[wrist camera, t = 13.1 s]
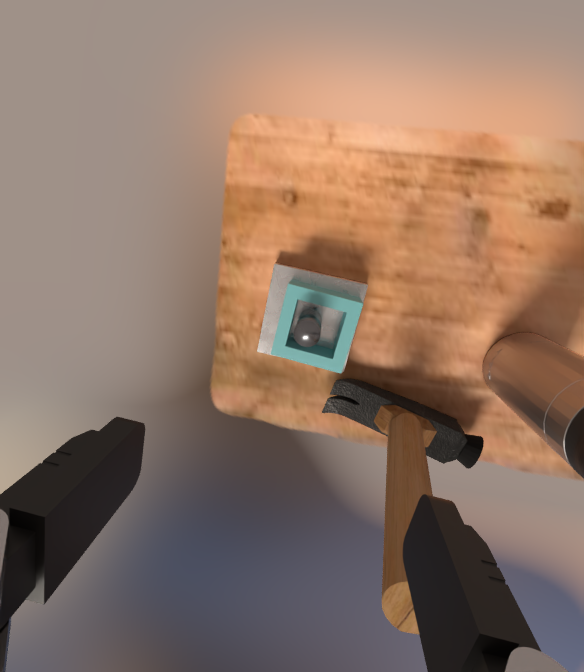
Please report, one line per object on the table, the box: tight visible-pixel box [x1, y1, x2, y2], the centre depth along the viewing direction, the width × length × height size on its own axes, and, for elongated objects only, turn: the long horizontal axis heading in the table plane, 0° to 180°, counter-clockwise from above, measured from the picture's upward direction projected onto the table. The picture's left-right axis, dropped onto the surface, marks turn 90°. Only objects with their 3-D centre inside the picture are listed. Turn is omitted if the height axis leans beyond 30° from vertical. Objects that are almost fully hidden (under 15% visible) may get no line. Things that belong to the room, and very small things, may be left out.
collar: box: [271, 279, 363, 373], centre depth 44 cm, size 9×9×4 cm
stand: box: [257, 263, 368, 372], centre depth 44 cm, size 12×12×8 cm
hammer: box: [322, 379, 483, 634], centre depth 36 cm, size 20×5×30 cm, turn 70°
